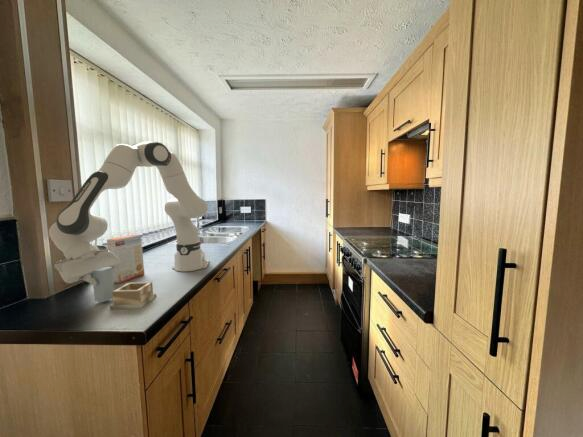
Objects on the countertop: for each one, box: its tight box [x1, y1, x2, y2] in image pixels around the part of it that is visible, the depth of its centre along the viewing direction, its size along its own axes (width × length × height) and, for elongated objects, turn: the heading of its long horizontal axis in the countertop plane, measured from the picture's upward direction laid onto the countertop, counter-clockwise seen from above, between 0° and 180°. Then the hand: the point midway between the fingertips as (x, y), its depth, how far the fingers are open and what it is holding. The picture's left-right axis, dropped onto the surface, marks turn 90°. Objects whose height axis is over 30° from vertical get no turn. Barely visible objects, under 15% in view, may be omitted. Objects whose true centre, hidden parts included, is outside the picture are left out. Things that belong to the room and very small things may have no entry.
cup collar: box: [109, 281, 157, 310], centre depth 98 cm, size 11×11×6 cm
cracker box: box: [106, 234, 145, 284], centre depth 126 cm, size 14×6×21 cm, turn 162°
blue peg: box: [92, 267, 115, 303], centre depth 99 cm, size 4×4×12 cm
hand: (104, 281), depth 98 cm, fingers closed on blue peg, 4 cm apart
